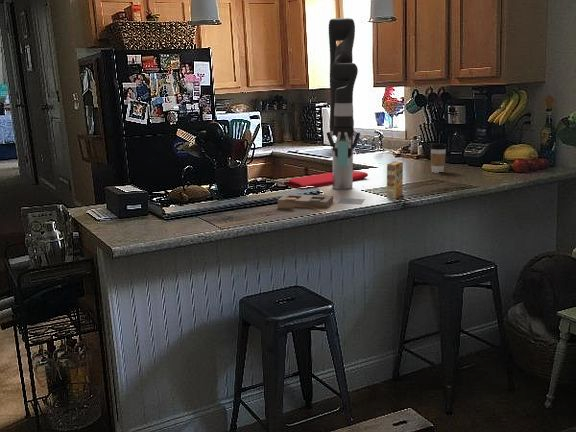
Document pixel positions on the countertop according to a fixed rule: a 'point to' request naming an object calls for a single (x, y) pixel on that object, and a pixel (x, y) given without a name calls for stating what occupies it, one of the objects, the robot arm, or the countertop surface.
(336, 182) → the robot arm
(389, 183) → the candy box
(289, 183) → the dish drying mat
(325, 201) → the socket block
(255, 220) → the countertop surface
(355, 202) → the deck
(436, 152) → the coffee cup
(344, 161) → the plug
